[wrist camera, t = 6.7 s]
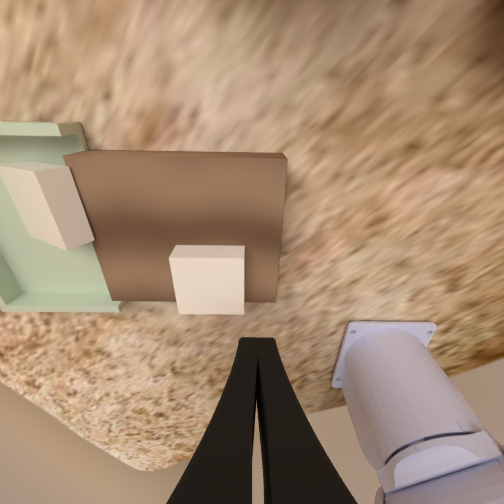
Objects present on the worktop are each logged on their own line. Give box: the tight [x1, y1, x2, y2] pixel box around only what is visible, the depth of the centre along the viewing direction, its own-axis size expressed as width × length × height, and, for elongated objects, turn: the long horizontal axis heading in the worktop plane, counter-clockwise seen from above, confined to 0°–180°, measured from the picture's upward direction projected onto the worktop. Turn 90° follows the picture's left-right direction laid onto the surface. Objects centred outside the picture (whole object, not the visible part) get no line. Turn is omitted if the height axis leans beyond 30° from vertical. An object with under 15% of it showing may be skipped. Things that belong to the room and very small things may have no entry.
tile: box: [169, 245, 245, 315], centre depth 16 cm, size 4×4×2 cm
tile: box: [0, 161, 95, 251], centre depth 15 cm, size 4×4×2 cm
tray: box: [0, 121, 127, 312], centre depth 17 cm, size 13×9×2 cm
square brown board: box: [63, 150, 288, 302], centre depth 17 cm, size 10×12×2 cm
